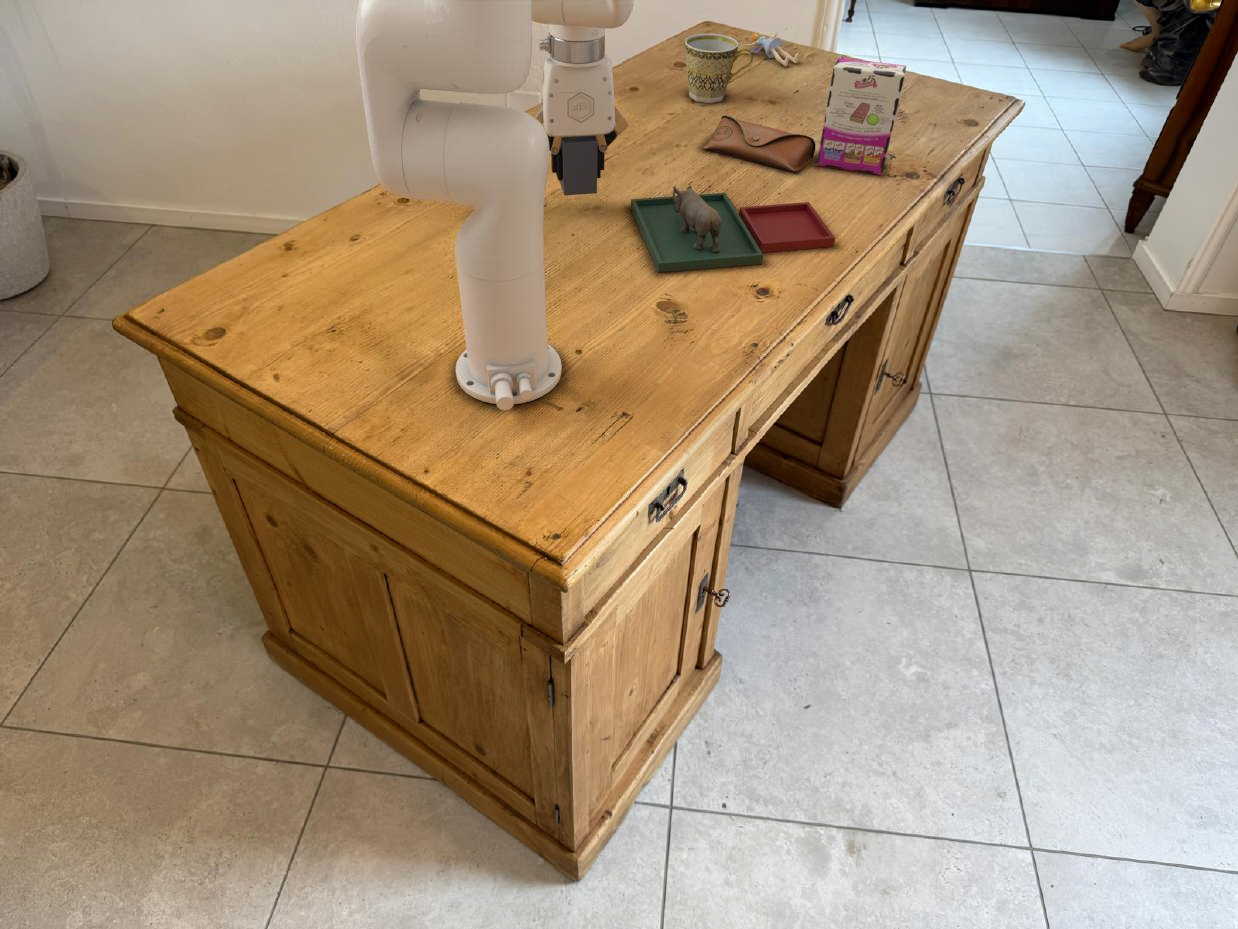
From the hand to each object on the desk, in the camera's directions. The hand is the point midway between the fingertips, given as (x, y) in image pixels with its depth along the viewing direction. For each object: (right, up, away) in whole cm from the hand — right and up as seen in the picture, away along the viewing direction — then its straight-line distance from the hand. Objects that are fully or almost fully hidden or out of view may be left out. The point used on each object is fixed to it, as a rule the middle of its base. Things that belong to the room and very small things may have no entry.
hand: (577, 174), depth 132 cm
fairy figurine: (+38, +43, +55) cm, 80 cm away
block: (0, -1, +1) cm, 2 cm away
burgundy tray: (+31, -8, 0) cm, 32 cm away
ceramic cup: (+25, +27, +38) cm, 53 cm away
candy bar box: (+46, +7, +18) cm, 49 cm away
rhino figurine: (+17, -9, -1) cm, 19 cm away
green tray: (+17, -9, -1) cm, 20 cm away
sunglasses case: (+30, +10, +20) cm, 38 cm away
